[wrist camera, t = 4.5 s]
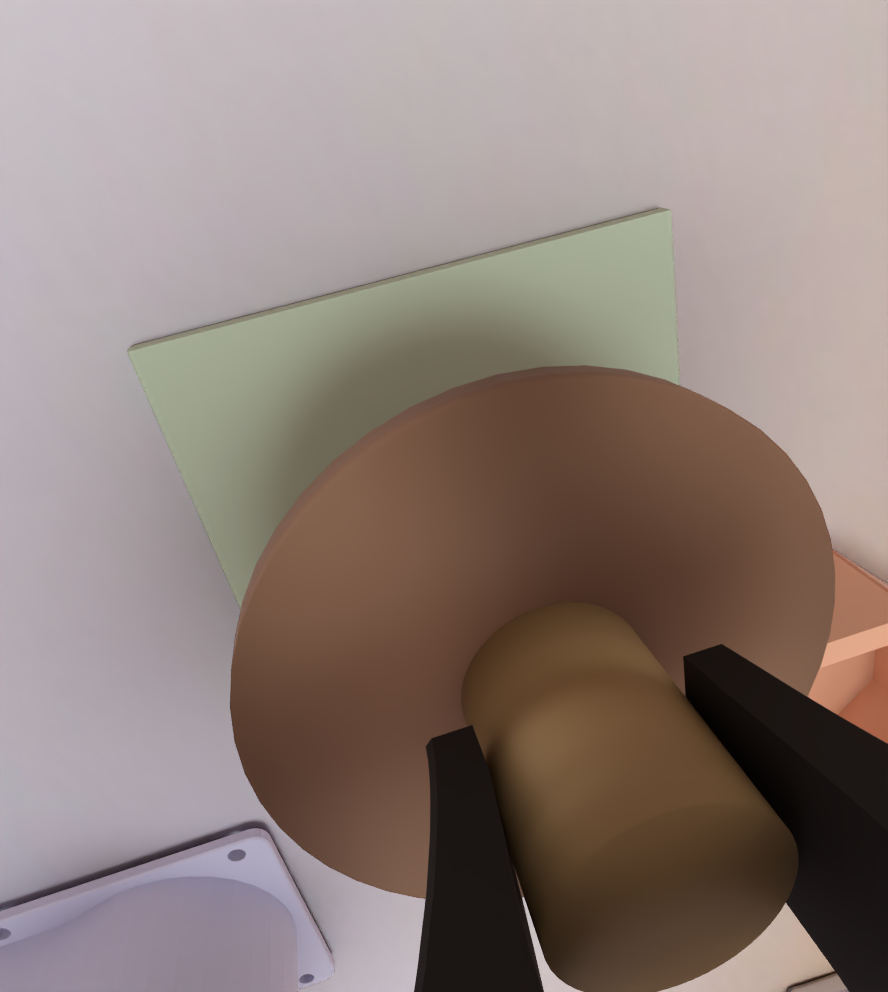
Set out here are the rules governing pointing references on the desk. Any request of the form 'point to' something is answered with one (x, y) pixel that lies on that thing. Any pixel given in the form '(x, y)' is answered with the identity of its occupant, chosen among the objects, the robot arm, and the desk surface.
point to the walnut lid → (542, 656)
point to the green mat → (393, 363)
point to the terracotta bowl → (856, 651)
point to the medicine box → (822, 985)
